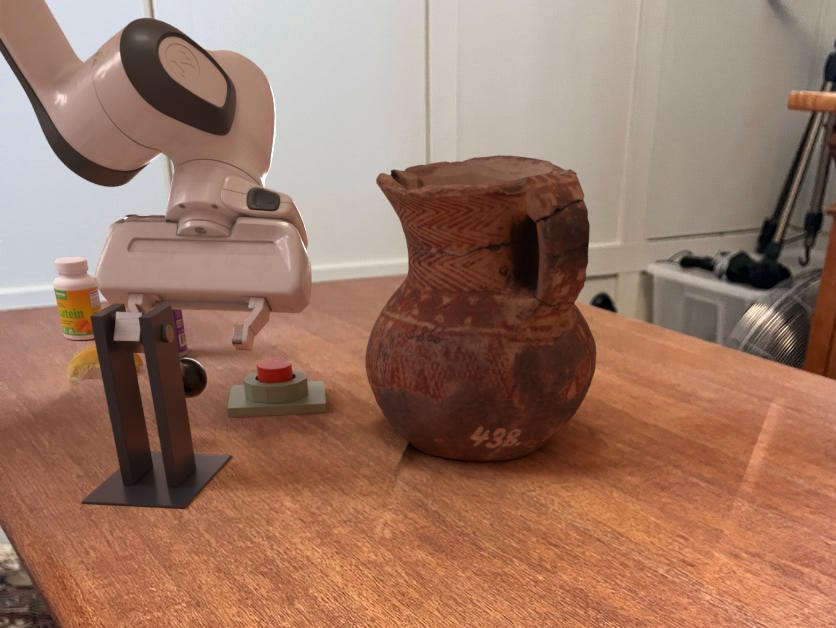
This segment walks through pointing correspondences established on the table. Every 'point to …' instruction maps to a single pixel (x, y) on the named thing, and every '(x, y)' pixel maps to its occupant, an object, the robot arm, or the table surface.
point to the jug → (485, 308)
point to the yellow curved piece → (89, 366)
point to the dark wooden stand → (139, 466)
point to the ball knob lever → (131, 341)
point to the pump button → (274, 371)
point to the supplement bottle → (76, 297)
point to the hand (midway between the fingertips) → (192, 346)
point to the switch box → (276, 396)
